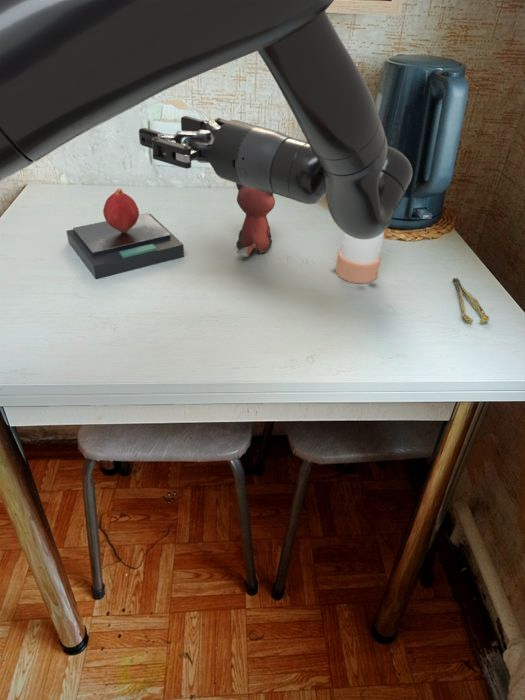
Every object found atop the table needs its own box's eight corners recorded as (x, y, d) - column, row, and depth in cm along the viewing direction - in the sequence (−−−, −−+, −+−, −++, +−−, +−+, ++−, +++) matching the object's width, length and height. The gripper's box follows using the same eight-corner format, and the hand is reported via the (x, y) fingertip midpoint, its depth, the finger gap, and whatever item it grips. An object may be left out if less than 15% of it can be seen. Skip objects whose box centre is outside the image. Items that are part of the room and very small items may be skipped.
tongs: (459, 281, 89) (463, 271, 88) (488, 328, 80) (492, 318, 79) (436, 281, 89) (439, 271, 88) (462, 328, 80) (467, 318, 78)
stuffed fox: (222, 260, 90) (223, 195, 83) (237, 232, 99) (238, 171, 91) (264, 266, 89) (268, 201, 82) (275, 238, 98) (280, 176, 90)
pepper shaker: (361, 259, 93) (383, 153, 81) (385, 279, 88) (412, 169, 76) (327, 266, 91) (345, 157, 79) (350, 286, 86) (372, 174, 74)
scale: (95, 279, 83) (92, 262, 81) (68, 242, 92) (65, 226, 90) (184, 256, 90) (183, 240, 88) (151, 224, 99) (149, 209, 97)
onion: (99, 235, 88) (92, 190, 83) (119, 222, 92) (113, 178, 87) (128, 243, 86) (123, 197, 81) (146, 229, 91) (142, 185, 86)
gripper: (287, 116, 68) (194, 92, 75) (222, 140, 59) (122, 110, 65) (282, 172, 73) (195, 145, 79) (221, 202, 64) (128, 168, 70)
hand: (162, 129), depth 72 cm, fingers open, 8 cm apart
